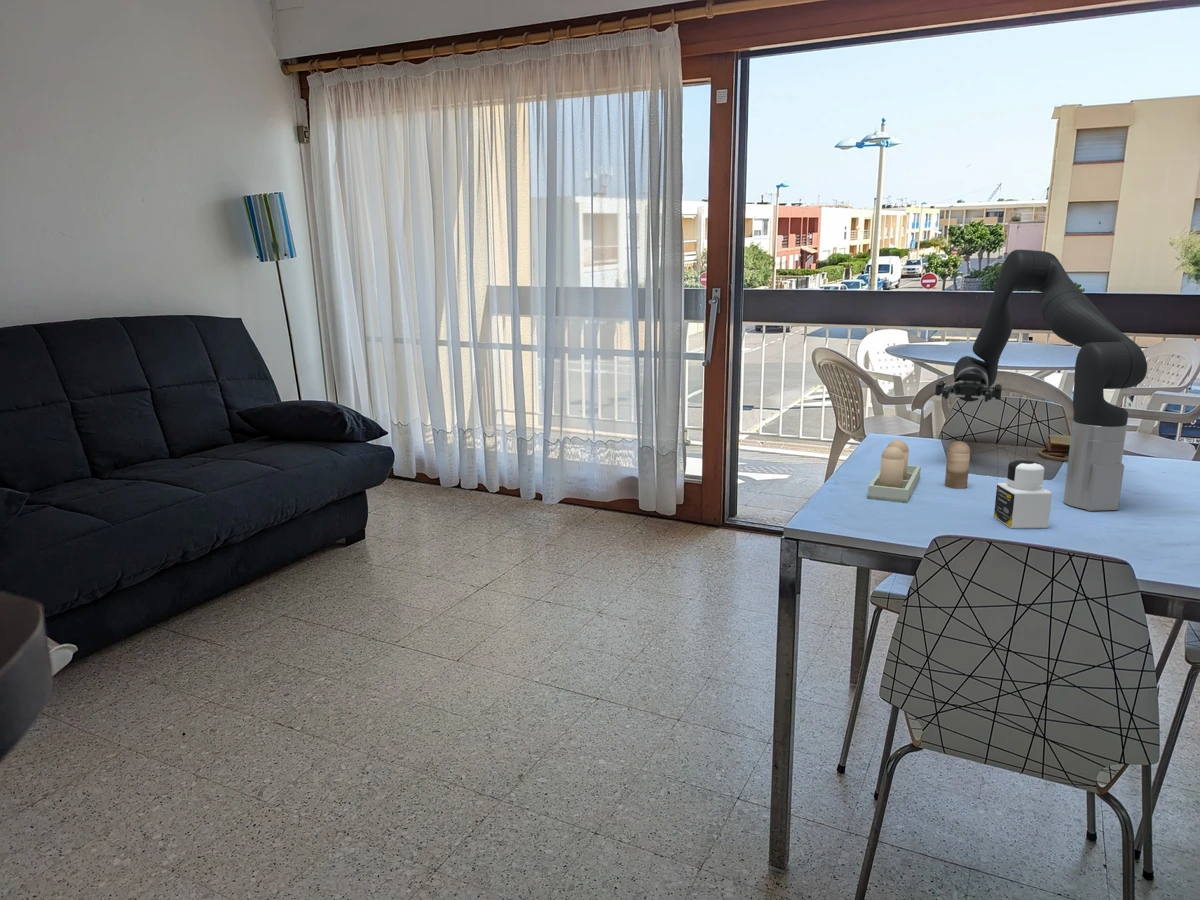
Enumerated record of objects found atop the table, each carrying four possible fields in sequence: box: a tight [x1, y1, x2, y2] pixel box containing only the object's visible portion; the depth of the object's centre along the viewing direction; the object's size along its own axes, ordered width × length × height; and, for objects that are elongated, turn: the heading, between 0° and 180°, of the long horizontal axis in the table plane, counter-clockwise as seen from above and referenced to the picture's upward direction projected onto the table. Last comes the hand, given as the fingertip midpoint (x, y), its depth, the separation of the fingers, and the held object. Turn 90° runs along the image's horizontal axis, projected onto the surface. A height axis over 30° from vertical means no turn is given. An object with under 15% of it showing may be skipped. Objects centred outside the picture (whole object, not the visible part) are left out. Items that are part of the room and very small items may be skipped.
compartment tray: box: [867, 439, 922, 504], centre depth 176 cm, size 22×8×11 cm, turn 152°
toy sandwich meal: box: [1037, 434, 1071, 462], centre depth 201 cm, size 12×14×5 cm
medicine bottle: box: [993, 459, 1053, 529], centre depth 151 cm, size 7×7×12 cm
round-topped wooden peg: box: [944, 440, 971, 490], centre depth 176 cm, size 5×5×10 cm
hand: (966, 395), depth 183 cm, fingers open, 8 cm apart
